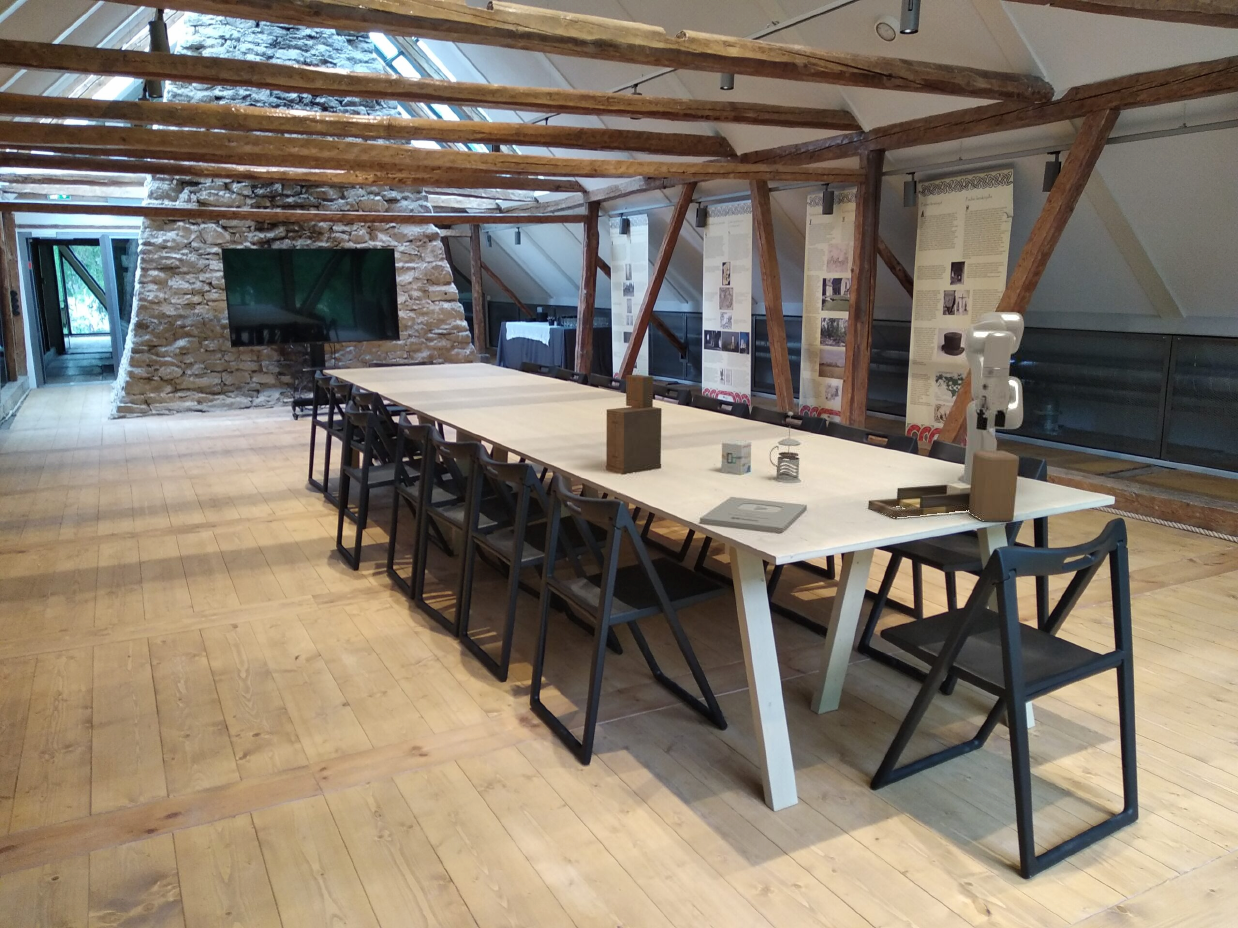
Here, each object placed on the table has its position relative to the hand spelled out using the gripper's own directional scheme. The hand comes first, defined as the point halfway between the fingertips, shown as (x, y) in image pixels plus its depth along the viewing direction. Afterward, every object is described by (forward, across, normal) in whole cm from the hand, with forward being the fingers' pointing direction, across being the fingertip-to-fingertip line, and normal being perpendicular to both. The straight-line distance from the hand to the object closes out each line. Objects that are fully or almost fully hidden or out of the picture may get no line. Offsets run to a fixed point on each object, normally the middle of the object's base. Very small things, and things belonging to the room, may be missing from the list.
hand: (990, 428), depth 267 cm
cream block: (+23, -5, +5) cm, 24 cm away
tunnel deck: (+26, -16, +9) cm, 31 cm away
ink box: (+26, -26, +86) cm, 93 cm away
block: (+26, -9, -8) cm, 28 cm away
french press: (+26, -21, +65) cm, 73 cm away
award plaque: (+26, -67, +33) cm, 79 cm away
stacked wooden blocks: (+26, -55, +112) cm, 128 cm away
